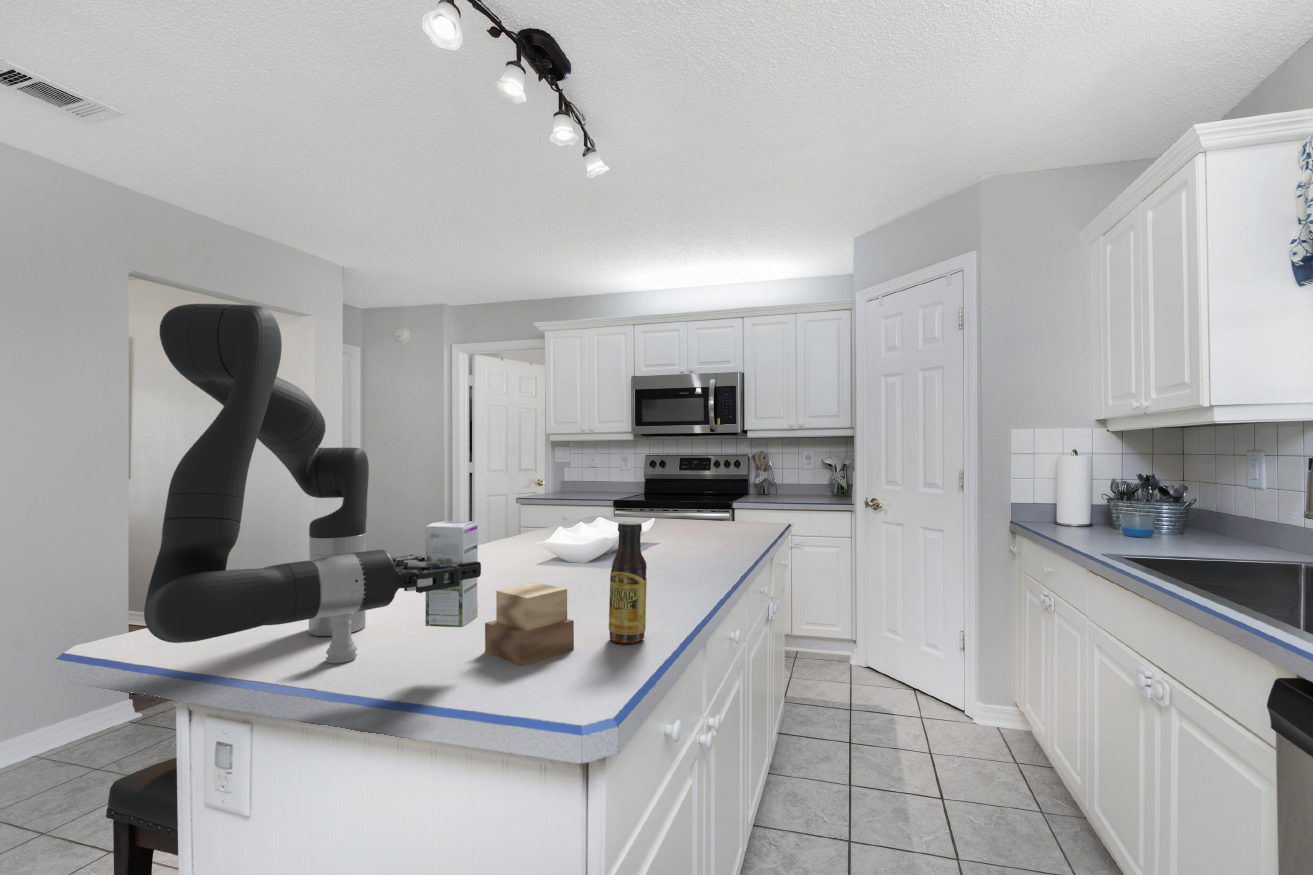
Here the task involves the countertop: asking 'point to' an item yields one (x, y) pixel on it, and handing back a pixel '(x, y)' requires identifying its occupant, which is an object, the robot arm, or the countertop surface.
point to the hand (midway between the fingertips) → (464, 564)
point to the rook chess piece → (341, 641)
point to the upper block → (531, 606)
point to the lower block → (528, 641)
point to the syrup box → (447, 547)
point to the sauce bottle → (628, 587)
